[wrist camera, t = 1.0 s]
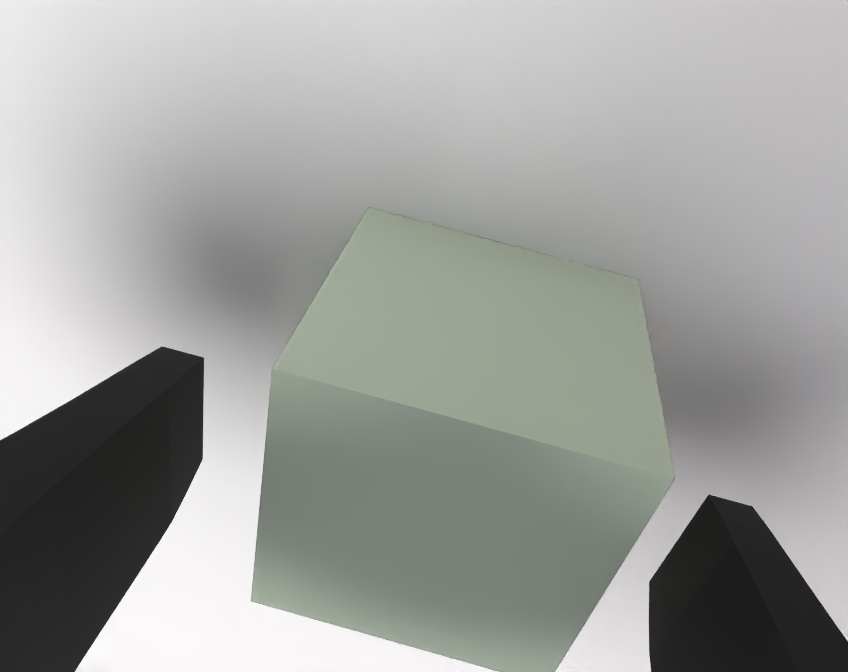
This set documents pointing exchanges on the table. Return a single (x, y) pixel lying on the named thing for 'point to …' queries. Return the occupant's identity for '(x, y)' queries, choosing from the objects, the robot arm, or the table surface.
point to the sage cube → (459, 446)
